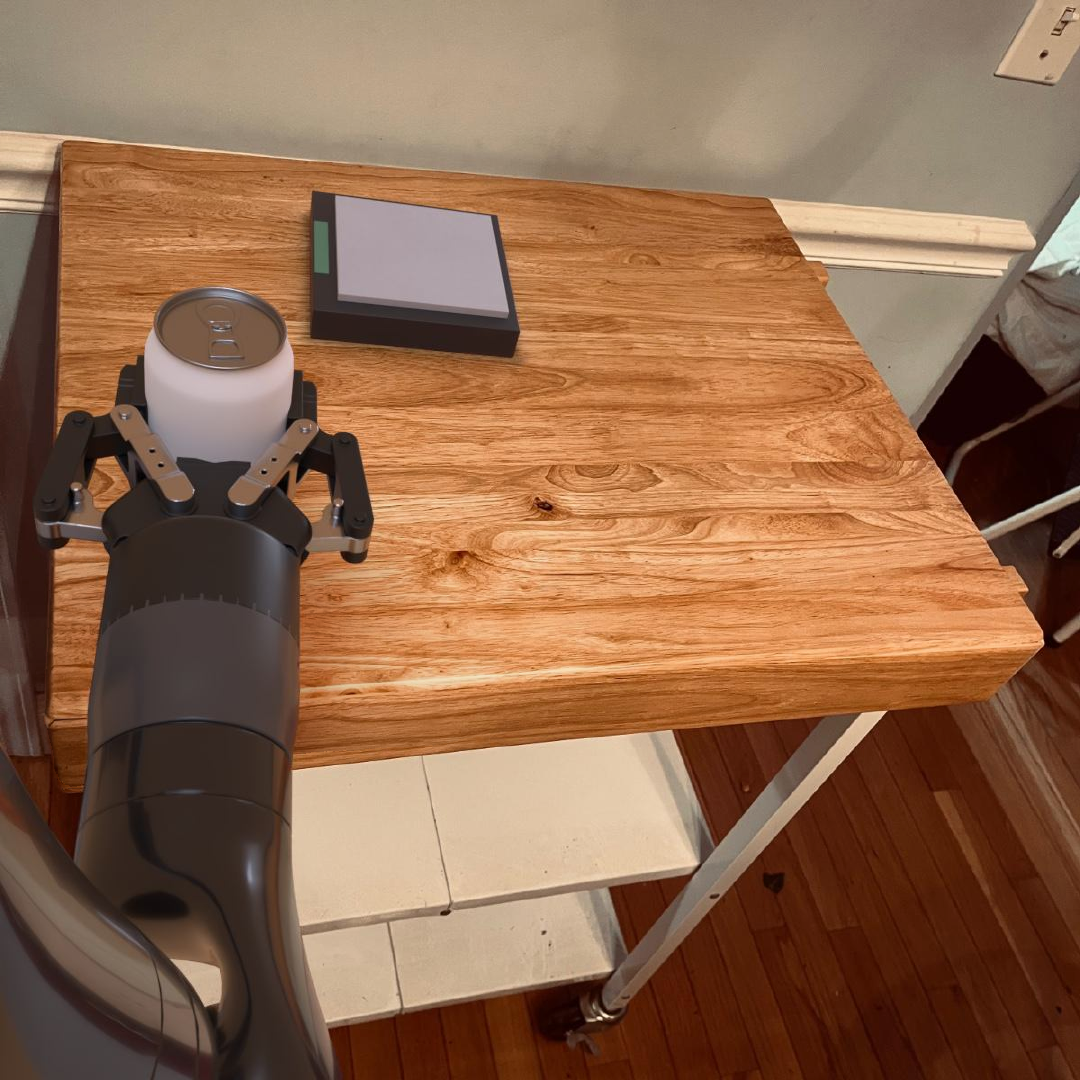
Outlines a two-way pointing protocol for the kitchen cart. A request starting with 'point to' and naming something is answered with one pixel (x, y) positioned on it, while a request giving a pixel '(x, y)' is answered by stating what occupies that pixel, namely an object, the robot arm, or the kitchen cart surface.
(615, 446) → the kitchen cart surface
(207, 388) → the can
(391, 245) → the scale
